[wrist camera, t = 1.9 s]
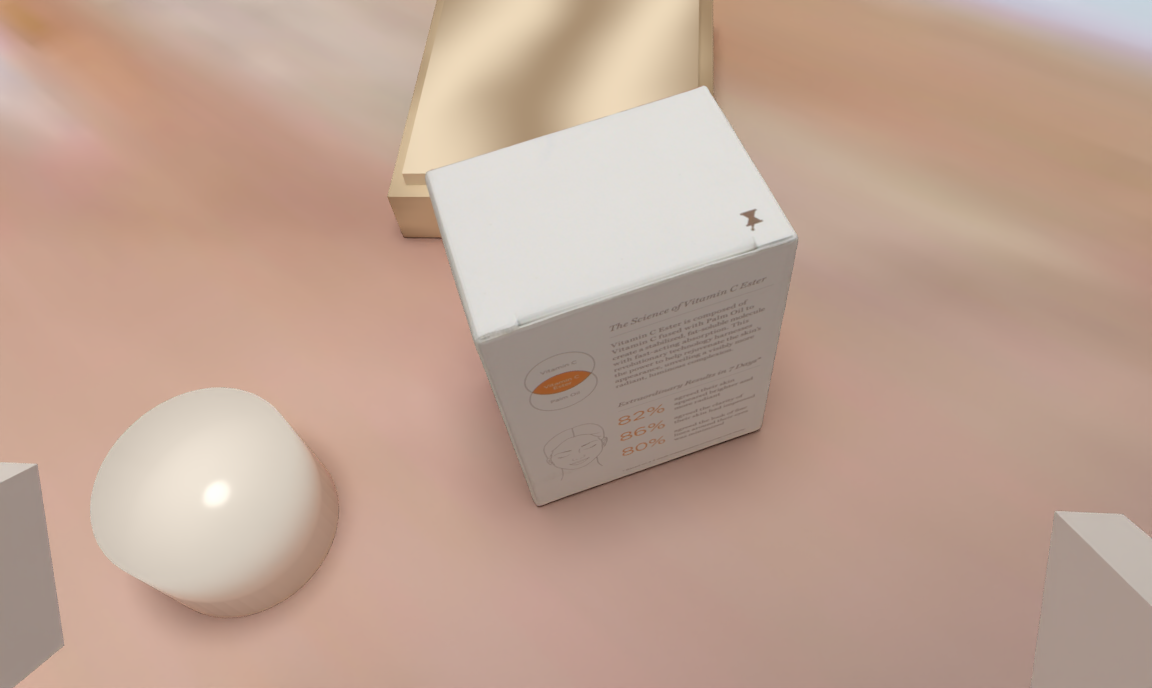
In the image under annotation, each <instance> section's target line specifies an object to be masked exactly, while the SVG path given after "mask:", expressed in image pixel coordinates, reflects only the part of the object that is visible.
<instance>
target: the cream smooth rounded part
mask: <svg viewBox="0 0 1152 688" xmlns="http://www.w3.org/2000/svg"><path fill="white" fill-rule="evenodd" d="M90 516H91V525H92V529H93V533H94V536H95V538H96V541H97V543H98V545H99V547H100V548H101V550H102V551H103V553H104V554H105V556H106V557H107V558H108V559H109V560H110V561H111V562H112V563H113V564H115V565H116V566H117V567H119V568H120V569H122V570H123V571H125V572H127V573H128V574H130V575H132V576H134V577H135V578H137V579H139V580H141V581H143V582H144V583H146V584H148V585H150V586H151V587H153V588H155V589H157V590H158V591H160V592H162V593H164V594H166V595H167V596H169V597H171V598H173V599H174V600H176V601H178V602H180V603H181V604H183V605H185V606H187V607H189V608H190V609H193V610H195V611H197V612H199V613H202V614H205V615H208V616H213V617H220V618H235V617H243V616H248V615H252V614H256V613H259V612H262V611H264V610H267V609H269V608H272V607H273V606H275V605H277V604H279V603H281V602H283V601H284V600H286V599H287V598H289V597H290V596H291V595H293V594H294V593H295V592H297V591H298V590H299V589H300V588H301V587H302V586H304V585H305V584H306V582H307V581H308V580H309V579H310V578H311V577H312V576H313V575H314V574H315V572H316V571H317V570H318V568H319V567H320V566H321V564H322V562H323V561H324V559H325V557H326V556H327V554H328V552H329V549H330V547H331V545H332V543H333V540H334V537H335V533H336V530H337V524H338V517H339V504H338V495H337V491H336V487H335V485H334V482H333V480H332V478H331V476H330V474H329V473H328V471H327V469H326V468H325V467H324V466H323V464H322V463H321V462H320V461H319V460H318V458H317V457H316V456H315V455H314V454H313V452H312V451H311V450H310V449H309V448H308V446H307V445H306V444H305V443H304V442H303V440H302V439H301V438H300V437H299V436H298V434H297V433H296V432H295V431H294V430H293V429H292V427H291V426H290V425H289V424H288V423H287V421H286V420H285V419H284V418H283V417H282V415H281V414H280V413H279V412H278V411H277V410H276V409H275V407H273V406H272V405H271V404H270V403H268V402H267V401H266V400H264V399H263V398H261V397H259V396H257V395H255V394H252V393H250V392H247V391H244V390H239V389H235V388H225V387H220V388H206V389H199V390H195V391H191V392H187V393H184V394H181V395H179V396H176V397H173V398H171V399H169V400H167V401H165V402H163V403H161V404H159V405H158V406H156V407H155V408H153V409H151V410H150V411H148V412H147V413H146V414H144V415H143V416H142V417H140V418H139V419H138V420H137V421H135V422H134V423H133V424H132V425H131V426H130V427H129V428H128V429H127V430H126V431H125V432H124V433H123V434H122V435H121V436H120V438H119V439H118V440H117V441H116V443H115V444H114V445H113V447H112V448H111V449H110V451H109V453H108V454H107V456H106V458H105V459H104V461H103V463H102V465H101V467H100V469H99V471H98V474H97V477H96V480H95V483H94V486H93V490H92V495H91V504H90Z"/></svg>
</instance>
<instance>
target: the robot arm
mask: <svg viewBox="0 0 1152 688" xmlns="http://www.w3.org/2000/svg"><path fill="white" fill-rule="evenodd" d="M63 646H64V640H63V633H62V626H61V620H60V613H59V606H58V599H57V593H56V586H55V579H54V572H53V566H52V559H51V552H50V545H49V539H48V532H47V525H46V518H45V512H44V505H43V498H42V491H41V485H40V478H39V471H38V464H27V463H6V462H0V688H13V687H15V686H16V685H17V684H18V683H19V682H21V681H22V680H23V679H24V678H25V677H27V676H28V675H29V674H30V673H31V672H33V671H34V670H35V669H36V668H38V667H39V666H40V665H41V664H42V663H44V662H45V661H46V660H47V659H48V658H50V657H51V656H52V655H53V654H54V653H56V652H57V651H58V650H59V649H61V648H62V647H63ZM1030 688H1152V538H1151V537H1149V536H1148V535H1147V534H1146V533H1145V532H1143V531H1142V530H1141V529H1140V528H1139V527H1138V526H1136V525H1135V524H1134V523H1133V522H1132V521H1130V520H1129V519H1128V518H1127V517H1126V516H1124V515H1123V514H1110V513H1088V512H1067V511H1055V513H1054V520H1053V527H1052V534H1051V542H1050V549H1049V556H1048V563H1047V571H1046V578H1045V585H1044V592H1043V600H1042V607H1041V614H1040V621H1039V629H1038V636H1037V643H1036V650H1035V658H1034V665H1033V672H1032V679H1031V687H1030Z"/></svg>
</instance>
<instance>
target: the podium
mask: <svg viewBox="0 0 1152 688" xmlns="http://www.w3.org/2000/svg"><path fill="white" fill-rule="evenodd" d="M703 85H704V86H706V87H707V88H708V89H709V91H710V93H711V95H712V96H713V0H437V2H436V6H435V10H434V14H433V18H432V22H431V26H430V30H429V34H428V38H427V42H426V46H425V50H424V53H423V57H422V61H421V65H420V69H419V73H418V77H417V81H416V85H415V89H414V93H413V97H412V101H411V105H410V109H409V113H408V117H407V121H406V125H405V129H404V133H403V137H402V141H401V145H400V149H399V153H398V157H397V161H396V165H395V169H394V173H393V177H392V181H391V184H390V188H389V192H388V196H387V197H388V199H389V202H390V204H391V207H392V209H393V212H394V214H395V217H396V219H397V222H398V224H399V227H400V229H401V232H402V234H403V237H432V238H442V237H441V234H440V230H439V227H438V223H437V220H436V216H435V213H434V209H433V206H432V203H431V199H430V196H429V192H428V189H427V185H426V181H425V175H426V172H427V171H430V170H432V169H436V168H440V167H443V166H446V165H449V164H453V163H456V162H459V161H463V160H466V159H469V158H473V157H476V156H479V155H482V154H485V153H488V152H492V151H495V150H498V149H502V148H505V147H508V146H512V145H515V144H518V143H521V142H524V141H527V140H531V139H534V138H537V137H541V136H544V135H547V134H550V133H553V132H557V131H560V130H563V129H566V128H570V127H573V126H576V125H579V124H583V123H586V122H589V121H592V120H595V119H599V118H602V117H605V116H609V115H612V114H615V113H618V112H621V111H624V110H628V109H631V108H634V107H637V106H640V105H643V104H647V103H650V102H653V101H656V100H660V99H663V98H666V97H669V96H672V95H676V94H679V93H682V92H685V91H689V90H692V89H695V88H698V87H700V86H703Z"/></svg>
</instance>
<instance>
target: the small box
mask: <svg viewBox="0 0 1152 688" xmlns="http://www.w3.org/2000/svg"><path fill="white" fill-rule="evenodd" d="M425 181H426V185H427V189H428V192H429V196H430V199H431V203H432V206H433V209H434V213H435V216H436V220H437V223H438V227H439V230H440V234H441V237H442V240H443V244H444V247H445V251H446V254H447V257H448V261H449V264H450V267H451V270H452V274H453V277H454V280H455V283H456V287H457V290H458V293H459V296H460V299H461V302H462V305H463V308H464V312H465V315H466V318H467V321H468V324H469V327H470V331H471V334H472V337H473V341H474V344H475V346H476V349H477V351H478V354H479V356H480V359H481V361H482V364H483V367H484V369H485V372H486V374H487V377H488V380H489V382H490V385H491V388H492V390H493V393H494V396H495V398H496V401H497V404H498V407H499V409H500V412H501V415H502V417H503V420H504V423H505V425H506V428H507V431H508V433H509V436H510V439H511V442H512V444H513V447H514V450H515V452H516V455H517V457H518V460H519V462H520V465H521V468H522V470H523V473H524V476H525V478H526V481H527V484H528V486H529V489H530V492H531V495H532V497H533V500H534V502H535V504H536V505H538V506H541V505H544V504H547V503H549V502H552V501H555V500H558V499H561V498H563V497H566V496H569V495H571V494H574V493H577V492H580V491H583V490H586V489H589V488H592V487H595V486H598V485H600V484H603V483H606V482H609V481H612V480H615V479H618V478H620V477H623V476H626V475H629V474H632V473H635V472H638V471H641V470H643V469H646V468H649V467H652V466H655V465H658V464H661V463H664V462H666V461H669V460H672V459H675V458H678V457H681V456H684V455H687V454H689V453H692V452H695V451H698V450H701V449H703V448H706V447H709V446H712V445H715V444H718V443H721V442H724V441H727V440H729V439H732V438H735V437H738V436H741V435H744V434H747V433H750V432H753V431H756V430H758V429H760V428H761V426H762V422H763V417H764V412H765V406H766V401H767V396H768V390H769V386H770V380H771V375H772V370H773V365H774V359H775V355H776V350H777V344H778V340H779V335H780V329H781V324H782V319H783V315H784V310H785V306H786V300H787V295H788V291H789V286H790V280H791V275H792V270H793V265H794V260H795V255H796V249H797V245H798V236H797V234H796V232H795V231H794V229H793V228H792V226H791V224H790V223H789V221H788V220H787V218H786V216H785V215H784V213H783V211H782V210H781V208H780V206H779V204H778V203H777V201H776V199H775V198H774V196H773V194H772V193H771V191H770V189H769V188H768V186H767V184H766V183H765V181H764V179H763V178H762V176H761V175H760V173H759V171H758V170H757V168H756V166H755V165H754V163H753V161H752V160H751V158H750V156H749V155H748V153H747V152H746V150H745V148H744V147H743V145H742V143H741V142H740V140H739V138H738V137H737V135H736V133H735V132H734V130H733V128H732V127H731V125H730V123H729V122H728V120H727V118H726V117H725V115H724V114H723V112H722V110H721V109H720V107H719V106H718V104H717V102H716V101H715V99H714V98H713V96H712V95H711V93H710V91H709V89H708V88H707V87H706V86H704V85H703V86H700V87H698V88H695V89H692V90H689V91H685V92H682V93H679V94H676V95H672V96H669V97H666V98H663V99H660V100H656V101H653V102H650V103H647V104H643V105H640V106H637V107H634V108H631V109H628V110H624V111H621V112H618V113H615V114H612V115H609V116H605V117H602V118H599V119H595V120H592V121H589V122H586V123H583V124H579V125H576V126H573V127H570V128H566V129H563V130H560V131H557V132H553V133H550V134H547V135H544V136H541V137H537V138H534V139H531V140H527V141H524V142H521V143H518V144H515V145H512V146H508V147H505V148H502V149H498V150H495V151H492V152H488V153H485V154H482V155H479V156H476V157H473V158H469V159H466V160H463V161H459V162H456V163H453V164H449V165H446V166H443V167H440V168H436V169H432V170H430V171H427V172H426V175H425Z"/></svg>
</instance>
